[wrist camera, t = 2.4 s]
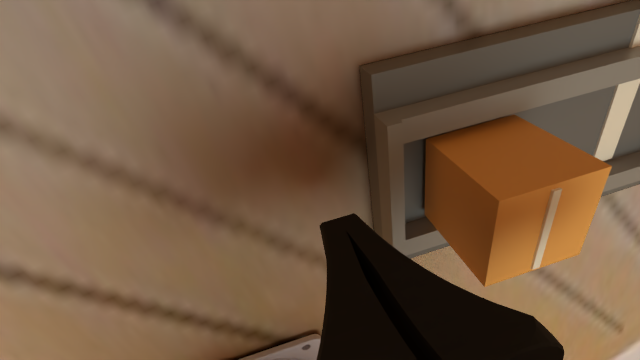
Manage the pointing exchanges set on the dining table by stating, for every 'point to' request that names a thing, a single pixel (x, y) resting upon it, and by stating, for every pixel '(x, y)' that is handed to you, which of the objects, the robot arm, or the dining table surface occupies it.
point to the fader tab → (510, 196)
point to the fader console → (502, 105)
